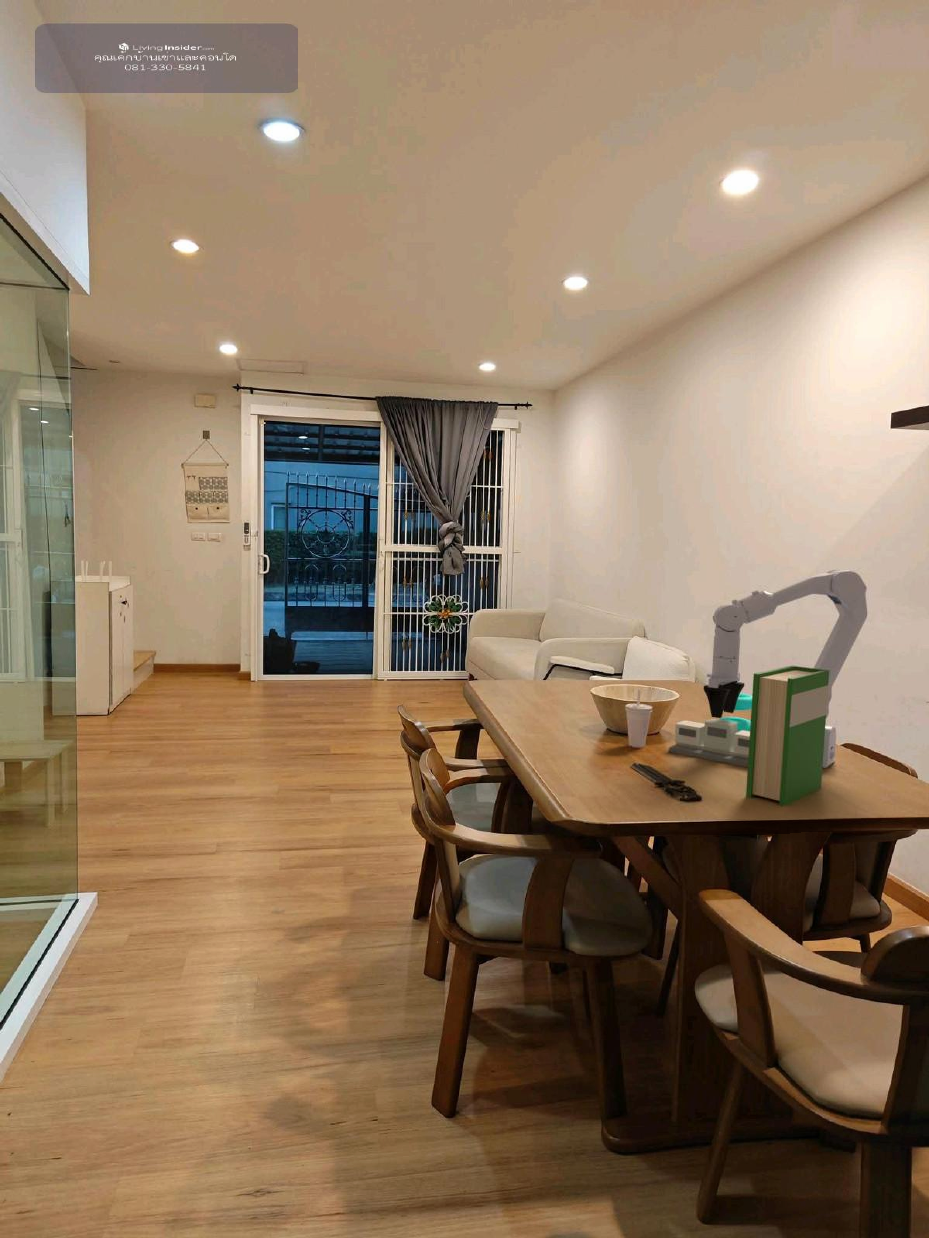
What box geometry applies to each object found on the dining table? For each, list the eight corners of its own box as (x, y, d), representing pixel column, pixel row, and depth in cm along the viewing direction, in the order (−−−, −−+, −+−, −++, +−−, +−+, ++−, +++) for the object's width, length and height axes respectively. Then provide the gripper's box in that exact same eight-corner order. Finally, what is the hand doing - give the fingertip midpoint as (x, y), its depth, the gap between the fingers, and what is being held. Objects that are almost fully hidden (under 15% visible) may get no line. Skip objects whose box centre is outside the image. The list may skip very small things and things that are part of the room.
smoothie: (620, 746, 182) (622, 688, 181) (627, 740, 187) (630, 684, 186) (646, 750, 179) (649, 691, 178) (653, 744, 184) (656, 687, 183)
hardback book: (784, 806, 141) (792, 679, 139) (745, 796, 146) (753, 673, 144) (820, 787, 153) (829, 670, 151) (784, 779, 159) (792, 665, 156)
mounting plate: (771, 759, 174) (773, 732, 174) (754, 768, 166) (756, 740, 165) (688, 743, 187) (689, 718, 186) (668, 751, 178) (670, 725, 178)
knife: (626, 766, 167) (626, 760, 167) (654, 765, 168) (655, 759, 167) (673, 804, 142) (673, 797, 142) (706, 803, 143) (706, 796, 143)
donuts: (765, 696, 198) (741, 700, 192) (763, 734, 199) (738, 738, 193) (733, 690, 206) (709, 693, 201) (731, 726, 207) (706, 730, 202)
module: (736, 748, 176) (737, 722, 175) (728, 751, 172) (730, 725, 172) (710, 743, 180) (712, 718, 179) (703, 747, 176) (704, 721, 176)
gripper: (720, 652, 183) (717, 707, 184) (696, 657, 172) (693, 716, 173) (750, 655, 179) (746, 712, 180) (727, 661, 167) (724, 721, 169)
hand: (722, 714), depth 176 cm, fingers open, 7 cm apart
